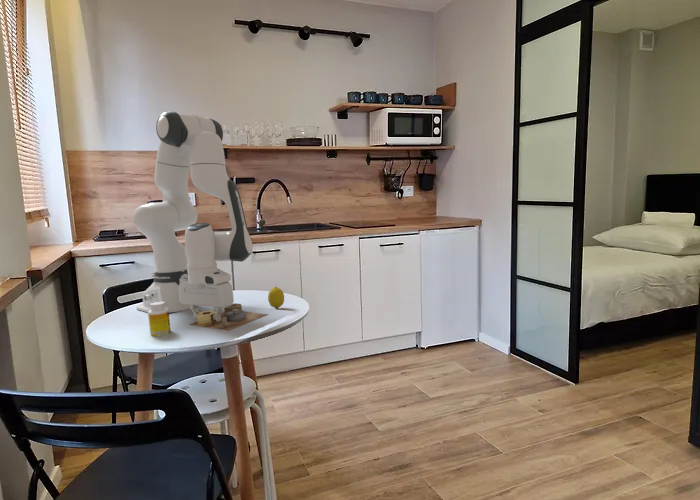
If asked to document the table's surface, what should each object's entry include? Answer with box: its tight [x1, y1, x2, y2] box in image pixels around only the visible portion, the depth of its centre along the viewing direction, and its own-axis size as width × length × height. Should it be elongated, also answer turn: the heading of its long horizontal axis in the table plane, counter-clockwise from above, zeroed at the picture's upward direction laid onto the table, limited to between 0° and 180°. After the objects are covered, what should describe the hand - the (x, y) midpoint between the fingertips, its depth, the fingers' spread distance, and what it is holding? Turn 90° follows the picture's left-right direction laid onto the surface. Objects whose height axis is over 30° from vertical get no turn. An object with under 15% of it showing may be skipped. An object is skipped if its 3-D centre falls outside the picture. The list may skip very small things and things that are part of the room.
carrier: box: [188, 303, 269, 332], centre depth 145 cm, size 17×18×4 cm
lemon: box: [267, 286, 285, 310], centre depth 159 cm, size 6×6×8 cm
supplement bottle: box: [147, 301, 172, 337], centre depth 134 cm, size 6×6×10 cm
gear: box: [197, 310, 217, 325], centre depth 143 cm, size 6×6×3 cm
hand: (207, 319), depth 143 cm, fingers open, 7 cm apart
